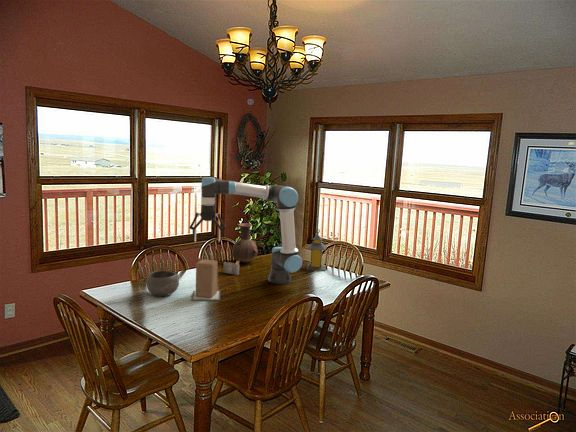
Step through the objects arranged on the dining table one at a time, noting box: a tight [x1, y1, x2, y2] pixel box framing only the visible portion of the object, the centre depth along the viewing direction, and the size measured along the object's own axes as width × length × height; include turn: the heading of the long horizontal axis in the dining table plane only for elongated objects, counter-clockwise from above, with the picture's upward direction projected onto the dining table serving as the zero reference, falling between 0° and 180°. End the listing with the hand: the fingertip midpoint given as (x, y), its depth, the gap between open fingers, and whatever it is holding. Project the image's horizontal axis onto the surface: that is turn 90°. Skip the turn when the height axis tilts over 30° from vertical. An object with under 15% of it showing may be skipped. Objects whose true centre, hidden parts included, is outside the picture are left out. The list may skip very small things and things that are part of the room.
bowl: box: [146, 269, 180, 297], centre depth 244 cm, size 18×18×13 cm
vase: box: [231, 222, 259, 264], centre depth 324 cm, size 25×20×30 cm
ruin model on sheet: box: [222, 260, 240, 276], centre depth 295 cm, size 11×3×10 cm, turn 67°
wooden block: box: [195, 259, 218, 298], centre depth 244 cm, size 10×10×20 cm
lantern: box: [305, 228, 327, 272], centre depth 317 cm, size 14×14×30 cm
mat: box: [190, 290, 221, 302], centre depth 246 cm, size 16×16×1 cm
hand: (207, 241), depth 241 cm, fingers open, 13 cm apart
